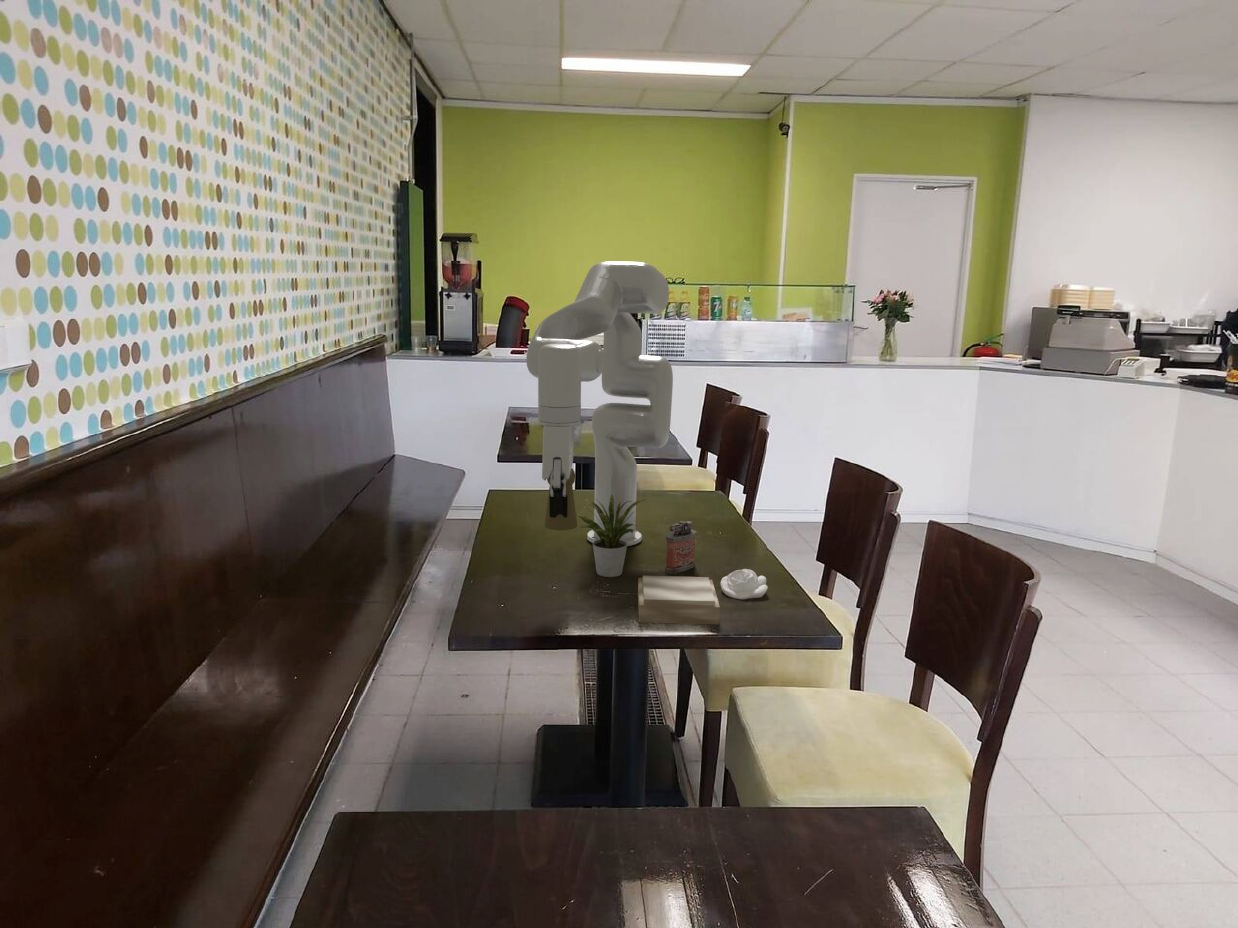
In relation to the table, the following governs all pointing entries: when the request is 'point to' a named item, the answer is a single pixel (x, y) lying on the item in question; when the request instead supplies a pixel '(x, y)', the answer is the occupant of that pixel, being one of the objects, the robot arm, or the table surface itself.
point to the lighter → (680, 547)
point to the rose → (744, 584)
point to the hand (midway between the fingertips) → (559, 513)
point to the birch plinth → (677, 600)
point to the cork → (570, 520)
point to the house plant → (609, 538)
